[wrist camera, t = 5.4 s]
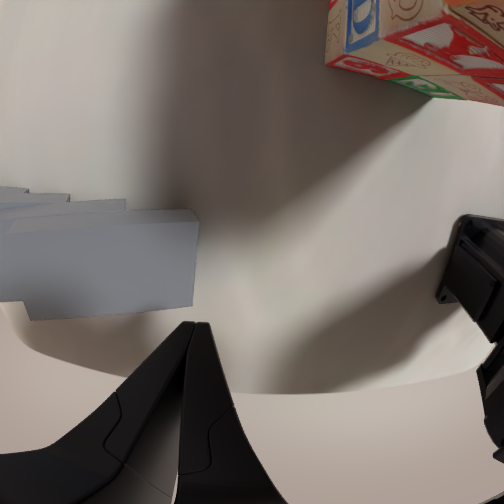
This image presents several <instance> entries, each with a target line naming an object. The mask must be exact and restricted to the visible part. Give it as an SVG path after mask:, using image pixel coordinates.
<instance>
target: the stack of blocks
mask: <svg viewBox="0 0 504 504" xmlns="http://www.w3.org/2000/svg"><path fill="white" fill-rule="evenodd" d="M325 64H326V65H328V66H333V67H337V68H342V69H346V70H350V71H354V72H358V73H362V74H366V75H369V76H373V77H376V78H379V79H386V80H389V81H392V82H395V83H398V84H401V85H403V86H406V87H409V88H411V89H414V90H416V91H419V92H422V93H424V94H427V95H429V96H431V97H435V98H445V99H458V100H471V101H477V102H483V103H488V104H493V105H498V106H503V107H504V0H330V3H329V14H328V25H327V37H326V49H325Z"/></svg>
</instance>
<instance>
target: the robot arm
mask: <svg viewBox="0 0 504 504" xmlns="http://www.w3.org/2000/svg"><path fill="white" fill-rule="evenodd" d="M468 222H469V223H468ZM436 300H437V302H438V303H439V304H446V303H455V302H459V303H460V305H461V306H462V307H463V309H464V310H465V311H466V313H467V314H468V315H469V317H470V318H471V319H472V321H473V322H476V323H477V325H478V326H479V328H480V329H481V330H482V332H483V333H484V335H485V336H486V338H487V339H488V341H489V342H490V343H495V345H496V346H495V348H494V349H493V350H492V352H491V353H490V355H489V356H488V357H487V359H486V360H485V361H484V363H482V364H481V365H480V366H479V368H478V369H477V370H476V372H477V376H478V381H479V386H480V391H481V396H482V402H483V407H484V414H485V419H484V425H485V427H486V430H487V432H488V435H489V436H490V438H491V440H492V442H493V443H494V444H495V445H496V446H497V447H498V448H499V449H498V450H497V451H495V452H494V453H493V458H494V459H496V460H498V461H500V462H502V463H504V219H498V218H491V217H485V216H478V215H472V214H466V215H465V216H464V217H463V218H462V221H461V224H460V228H459V231H458V235H457V238H456V241H455V245H454V248H453V251H452V254H451V257H450V260H449V263H448V266H447V268H446V271H445V274H444V276H443V279H442V282H441V284H440V287H439V289H438V292H437V294H436ZM177 471H178V475H179V476H178V485H177V493H176V498H175V502H174V504H288V503H287V502H286V501H285V499H284V498H283V497H282V495H281V494H280V493H279V491H278V490H277V489H276V487H275V486H274V484H273V482H272V481H271V479H270V478H269V476H268V474H267V473H266V471H265V469H264V468H263V466H262V464H261V463H260V461H259V459H258V458H257V456H256V454H255V452H254V451H253V449H252V447H251V445H250V443H249V441H248V439H247V437H246V435H245V433H244V431H243V428H242V426H241V423H240V420H239V418H238V415H237V412H236V409H235V407H234V403H233V400H232V397H231V394H230V391H229V388H228V384H227V381H226V378H225V375H224V371H223V368H222V365H221V361H220V358H219V355H218V351H217V348H216V344H215V341H214V337H213V334H212V330H211V326H210V324H209V323H208V322H197V323H196V322H192V321H183V322H182V323H181V324H180V325H179V326H178V327H177V328H176V329H175V330H174V331H173V332H172V333H171V334H170V335H169V336H168V337H167V338H166V339H165V340H164V341H163V342H162V343H161V344H160V345H159V346H158V347H157V348H156V349H155V350H154V351H153V352H152V353H151V354H150V355H149V356H148V357H147V359H146V360H145V361H144V362H143V363H142V364H141V365H140V366H139V367H138V368H137V369H136V370H135V371H134V372H133V373H132V374H131V375H130V376H129V377H128V378H127V379H126V380H125V381H124V382H123V383H122V384H121V385H120V386H119V387H118V388H117V389H116V392H113V393H112V394H111V395H110V397H108V398H107V400H105V402H103V403H102V404H101V405H100V406H99V407H98V408H97V409H96V410H95V411H94V412H93V413H91V415H89V416H88V417H87V418H85V419H84V420H83V421H82V422H81V423H79V424H78V425H77V426H76V427H74V428H73V429H72V430H70V431H69V432H68V433H67V434H65V435H64V436H63V437H62V438H60V439H59V440H58V441H56V442H55V443H53V444H51V445H50V446H47V447H45V448H42V449H38V450H32V451H25V452H18V453H8V454H0V504H171V501H172V496H173V491H174V485H175V480H176V476H177ZM480 504H504V492H502V493H500V494H498V495H496V496H494V497H492V498H490V499H488V500H486V501H484V502H482V503H480Z"/></svg>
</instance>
